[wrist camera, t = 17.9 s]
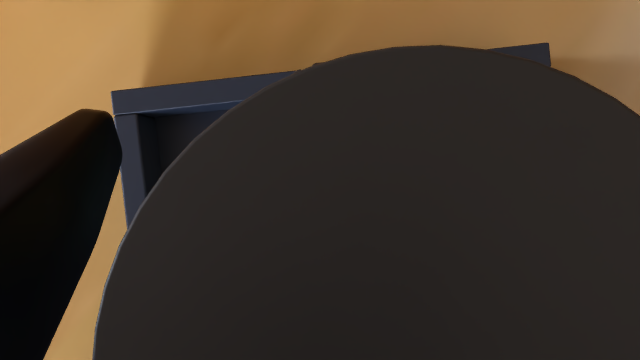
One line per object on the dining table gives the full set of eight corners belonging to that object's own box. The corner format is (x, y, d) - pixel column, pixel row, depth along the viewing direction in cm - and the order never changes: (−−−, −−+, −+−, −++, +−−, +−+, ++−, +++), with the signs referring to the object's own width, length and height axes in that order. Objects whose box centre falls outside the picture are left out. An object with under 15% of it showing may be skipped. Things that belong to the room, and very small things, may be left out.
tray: (567, 559, 16) (600, 614, 14) (194, 588, 17) (175, 646, 15) (522, 57, 16) (549, 42, 14) (137, 99, 16) (109, 91, 14)
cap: (473, 525, 7) (588, 827, 4) (142, 372, 7) (-15, 543, 4) (636, 194, 6) (899, 221, 3) (293, 37, 6) (257, -71, 3)
